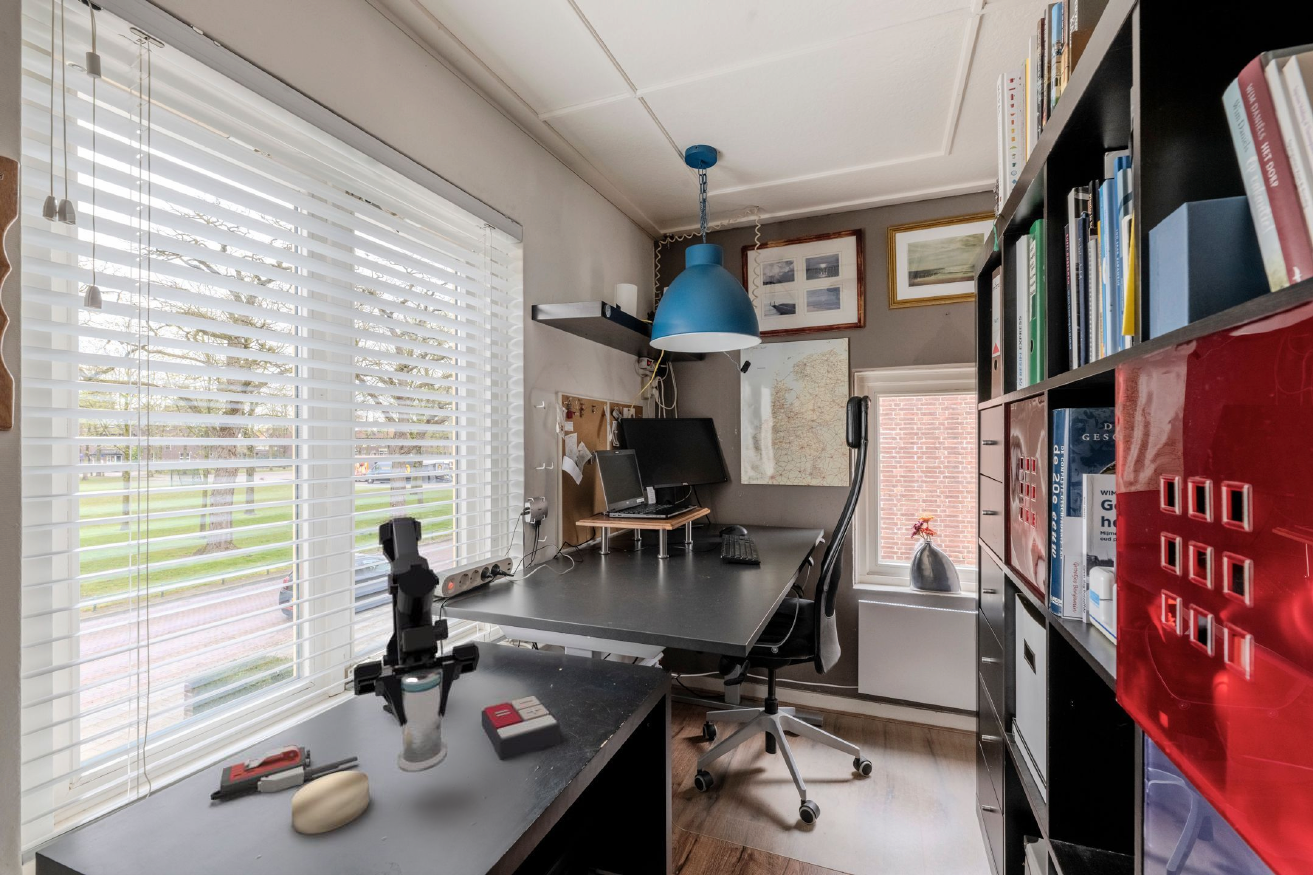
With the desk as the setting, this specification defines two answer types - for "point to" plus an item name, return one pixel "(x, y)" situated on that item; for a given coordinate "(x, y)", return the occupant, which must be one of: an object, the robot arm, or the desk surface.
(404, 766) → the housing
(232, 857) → the desk surface
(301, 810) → the stand
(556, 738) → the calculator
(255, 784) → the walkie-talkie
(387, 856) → the desk surface
